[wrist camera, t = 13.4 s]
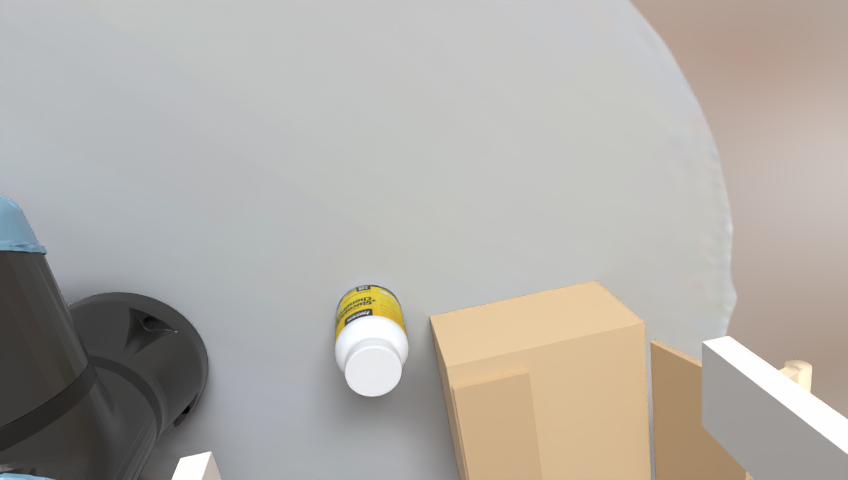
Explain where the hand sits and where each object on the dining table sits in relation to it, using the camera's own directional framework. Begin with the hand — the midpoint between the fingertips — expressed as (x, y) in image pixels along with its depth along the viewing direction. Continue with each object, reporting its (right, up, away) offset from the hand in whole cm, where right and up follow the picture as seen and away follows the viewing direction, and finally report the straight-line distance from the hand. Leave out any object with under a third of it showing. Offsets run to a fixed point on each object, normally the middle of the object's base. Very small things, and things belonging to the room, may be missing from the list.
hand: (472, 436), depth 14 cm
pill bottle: (-7, -2, +41) cm, 41 cm away
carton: (+10, -10, +46) cm, 48 cm away
